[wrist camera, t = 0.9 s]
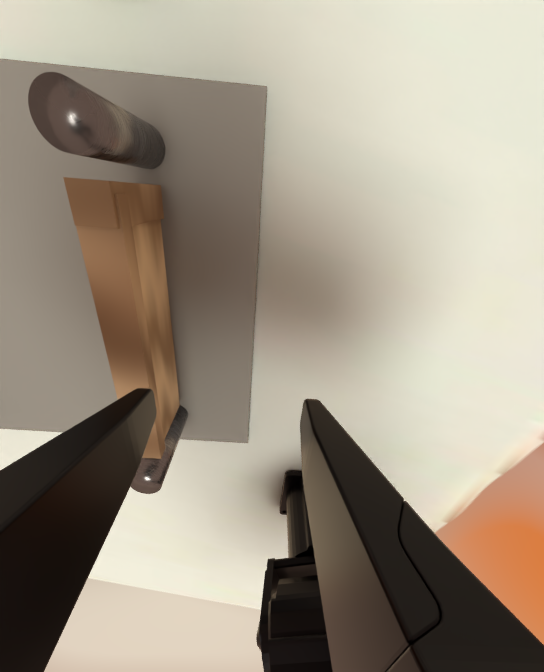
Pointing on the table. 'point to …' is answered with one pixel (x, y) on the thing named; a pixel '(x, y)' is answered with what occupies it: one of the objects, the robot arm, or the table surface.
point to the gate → (130, 289)
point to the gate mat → (178, 242)
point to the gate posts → (110, 145)
